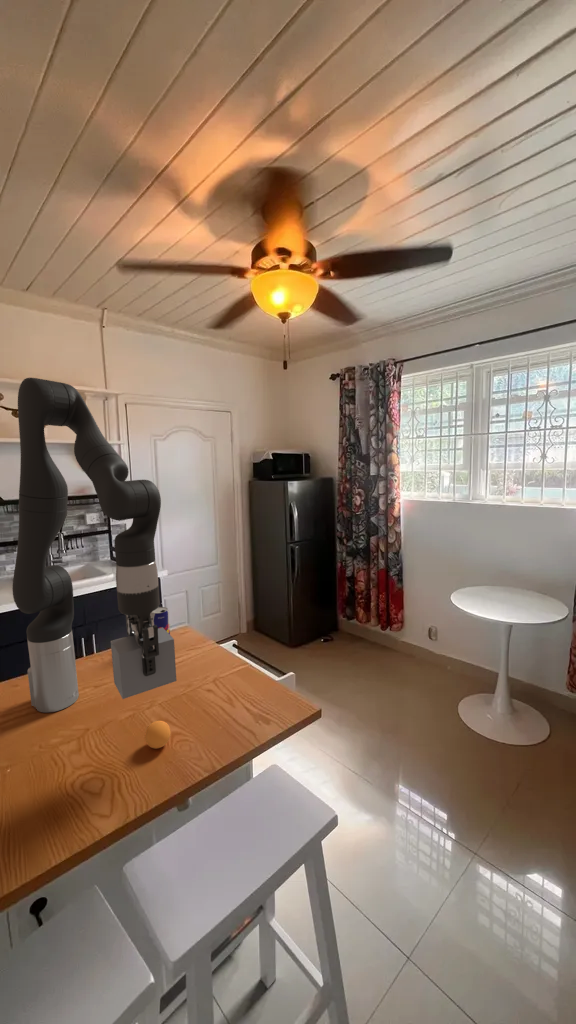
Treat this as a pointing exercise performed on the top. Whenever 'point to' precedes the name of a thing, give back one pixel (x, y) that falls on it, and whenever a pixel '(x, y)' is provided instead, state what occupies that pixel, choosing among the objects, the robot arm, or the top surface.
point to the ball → (157, 734)
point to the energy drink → (161, 618)
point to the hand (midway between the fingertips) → (143, 666)
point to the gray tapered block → (131, 668)
